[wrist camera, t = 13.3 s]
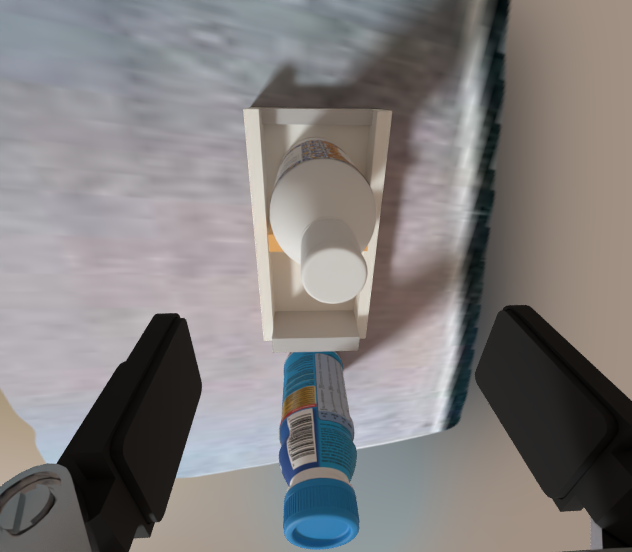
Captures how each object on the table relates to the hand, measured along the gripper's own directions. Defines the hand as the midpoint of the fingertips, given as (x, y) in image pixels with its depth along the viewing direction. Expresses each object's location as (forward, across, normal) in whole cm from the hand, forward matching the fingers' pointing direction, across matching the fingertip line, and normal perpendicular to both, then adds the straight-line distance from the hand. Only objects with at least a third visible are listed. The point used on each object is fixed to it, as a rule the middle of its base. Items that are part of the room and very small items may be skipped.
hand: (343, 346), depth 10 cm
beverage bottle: (+25, -1, +27) cm, 37 cm away
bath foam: (+25, 0, +1) cm, 25 cm away
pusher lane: (+25, -1, +7) cm, 26 cm away
